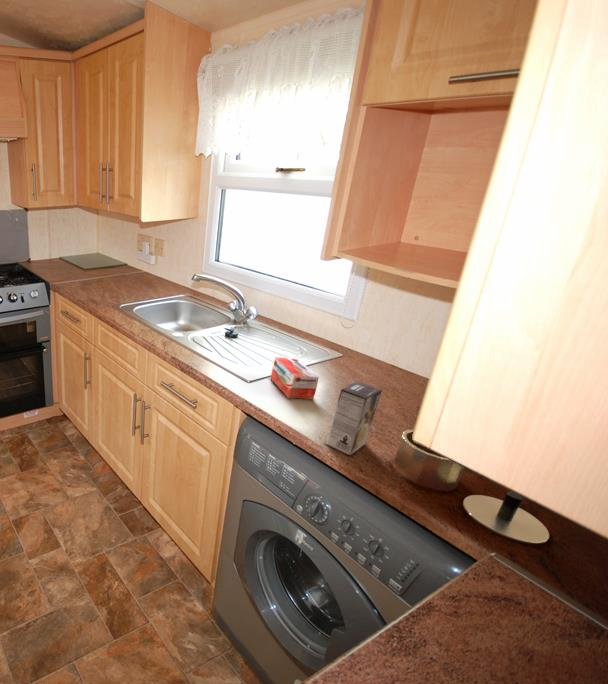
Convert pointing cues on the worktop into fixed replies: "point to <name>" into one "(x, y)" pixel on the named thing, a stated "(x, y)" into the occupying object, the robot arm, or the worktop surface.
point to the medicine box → (294, 378)
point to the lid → (506, 518)
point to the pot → (425, 465)
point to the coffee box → (353, 417)
